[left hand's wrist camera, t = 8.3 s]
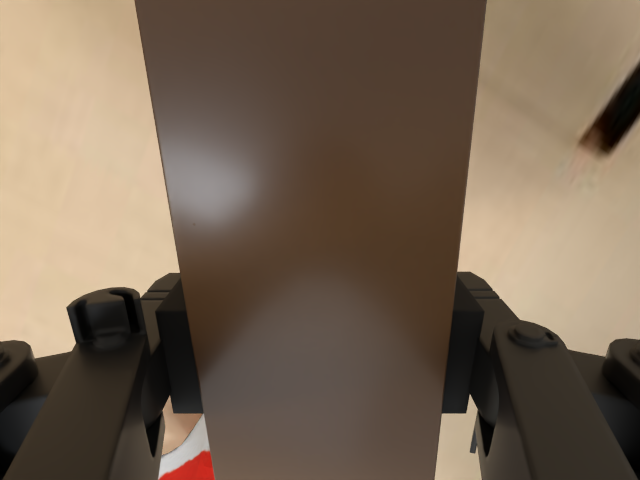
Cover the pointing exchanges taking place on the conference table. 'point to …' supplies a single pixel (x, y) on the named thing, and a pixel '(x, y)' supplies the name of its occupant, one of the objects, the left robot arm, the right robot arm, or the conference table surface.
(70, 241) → the conference table surface
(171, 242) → the conference table surface
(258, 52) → the plank
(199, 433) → the fish
